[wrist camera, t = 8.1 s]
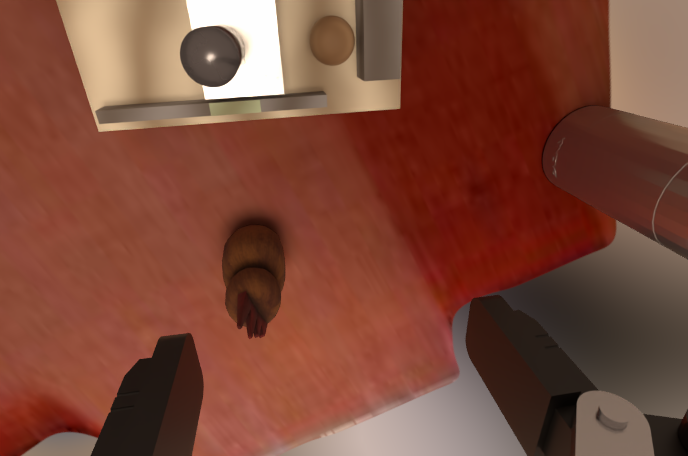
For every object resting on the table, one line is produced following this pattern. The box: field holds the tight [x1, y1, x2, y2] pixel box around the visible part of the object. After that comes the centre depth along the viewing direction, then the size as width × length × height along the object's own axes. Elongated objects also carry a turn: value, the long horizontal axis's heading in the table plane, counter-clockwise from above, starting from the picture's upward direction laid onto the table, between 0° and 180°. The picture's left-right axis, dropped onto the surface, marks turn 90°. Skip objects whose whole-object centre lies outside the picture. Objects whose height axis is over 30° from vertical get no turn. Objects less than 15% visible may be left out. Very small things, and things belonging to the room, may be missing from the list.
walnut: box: [309, 16, 355, 66], centre depth 32 cm, size 4×4×4 cm
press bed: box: [56, 0, 403, 132], centre depth 31 cm, size 26×12×4 cm, turn 92°
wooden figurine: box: [222, 225, 285, 339], centre depth 35 cm, size 7×6×15 cm
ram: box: [180, 0, 284, 99], centre depth 27 cm, size 6×7×12 cm
